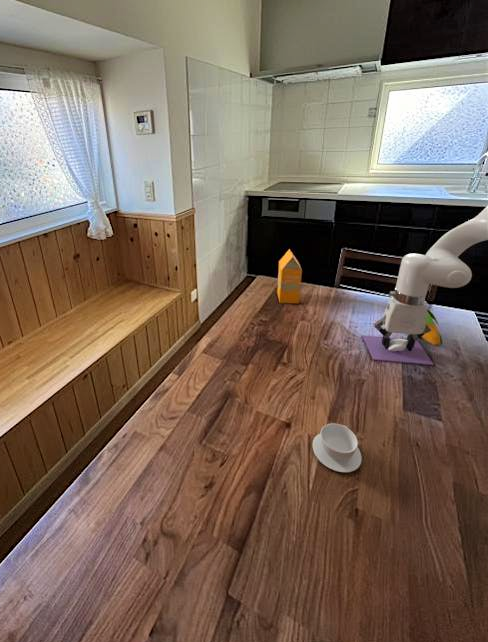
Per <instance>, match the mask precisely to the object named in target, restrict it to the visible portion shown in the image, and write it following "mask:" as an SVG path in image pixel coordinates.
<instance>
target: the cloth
mask: <svg viewBox="0 0 488 642" xmlns="http://www.w3.org/2000/svg"><path fill="white" fill-rule="evenodd" d="M362 338H363V339H364V342H365V345H366V347H367V350H368V352H369V354H370V356H371V359H372V361H378V362H379V361H380V362H381V361H382V362H390V363H391V362H392V363H393V362H394V363H402V364H403V363H404V364H412V365H413V364H414V365H426V366H434V363H433V361H432V359H431V357H429V356H428V354H427V352H426V351H425V349H424V348H423V346H422V345H421V343H420V341H419V339H418V340H416V341H415V344H414V347H412V351H408V349H407V347H405V349H404V350H402V351H389V350H388V349H385V347H384V345H382V338H383V336H371V335H363V336H362ZM394 339H400V338H398V337H396V338H395V337H390V341H392V340H394ZM404 339H405V340H407V338H404Z"/></svg>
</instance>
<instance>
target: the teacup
mask: <svg viewBox="0 0 488 642" xmlns="http://www.w3.org/2000/svg"><path fill="white" fill-rule="evenodd" d="M358 445H359V442H358V438H357V436H356V435H355V433H354V432H353V431H352V430H351V429H350V428H348V426H346V425H343V424H339V423H327V424H325V425H324V426H323V427H322V428H321V430H320V433H317V435H316V436H315V437H314V438H313V440H312V451H313V453H314V455H315V456H316V459H318V461H319V462H320V463H321V464H323V465H324V466H325V467H327V468H328V469H330V470H333V471H335V472H340V473H351V472H354V471H356V470H357V469H358V468H359V467H360V466H361V464H362V460H363V459H362V458H363V457H362V454H361V453H362V452H361V451H360V448H359V447H358Z"/></svg>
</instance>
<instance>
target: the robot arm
mask: <svg viewBox="0 0 488 642" xmlns="http://www.w3.org/2000/svg"><path fill="white" fill-rule="evenodd" d="M484 241H488V205H486V206H485V208H484V209H483V210H481V212H479V213H478V215H476V216H474V218H472V219H470V220H468V221H464V223H462V224H459V225H457V226H456V227H454V228H451V230H449V231H448V232H445V233H444V234H443V235H442V236H441V237H440V238H439V239H438V240H437V241H436V242H435V243H434V244H433V245H432V246H431V247H430V248H429V249H428V250H427V252H426V253H425V254H421V253H408V254H405V255H404V256H403V257H402V258H401V262H400V266H399V271H398V275H397V280H396V284H395V287H394V288H393V291H389V292H388V296H389V297H390V299H389V301H388V303H387V305H386V307H385V310H384V312H383V316H382V318H380V319H379V320H377V321H375V322H374V323H373V327H374V329H376V330H377V331H378V332H379V333H380V334H381V335H382V337H383V338H382V345H384V347H385V349H388V348H389V344H390V338H391V336H392V334H403V335H407V337H406V339H407V340H408V344H407V345H406V347H407V349H408V351H412V347H414V344H415V341H416V340H418V341H419V339H420V338H419V337H421V336H423V335H424V334H426V333H428V332H430V331H431V329H430V327H429V326H428V325H427V324H426V319H427V309H428V302H426V298H427V294H428V290H429V286H430V285H432V286H433V285H434V286H438V287H443V288H447V289H448V288H449V289H457V288H461V287H464V286H466V285H468V284H469V283H470V281H471V280H472V277H473V273H472V270H471V268H470V267H469V266H468V265H467V264H466V263H465V262H464V261H462V260H461V259H460V258H459V256H461V254H462V253H464V252H465V251H466V250H467V249H469V248H470V247H472V246H474V245H476V244H478V243H481V242H484ZM383 325H384V327H383ZM421 338H422V337H421Z"/></svg>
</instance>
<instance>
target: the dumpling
mask: <svg viewBox="0 0 488 642" xmlns="http://www.w3.org/2000/svg"><path fill="white" fill-rule="evenodd" d="M405 339H406V338H399V339H394V340H392V341H390V344H389V348H388V350H389V351H402V350H404V349H405V347H406V345H407V344H408V340H405Z"/></svg>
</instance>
